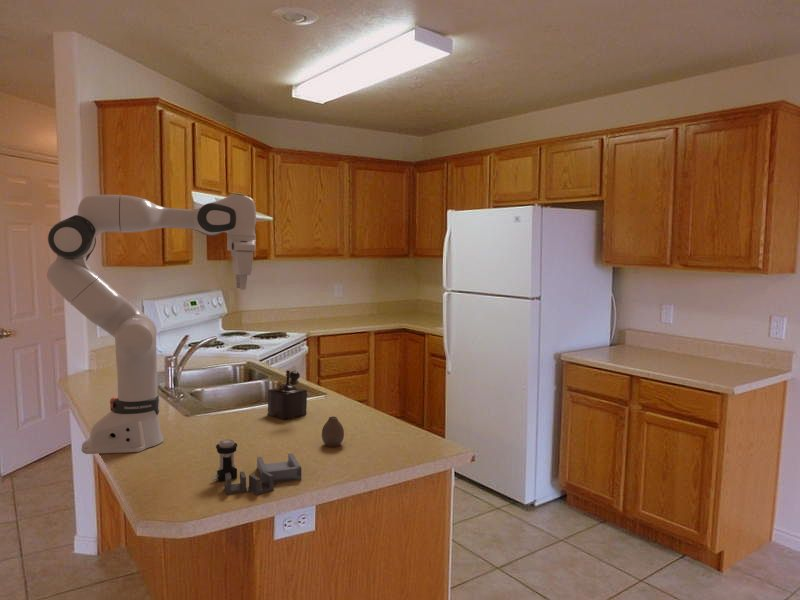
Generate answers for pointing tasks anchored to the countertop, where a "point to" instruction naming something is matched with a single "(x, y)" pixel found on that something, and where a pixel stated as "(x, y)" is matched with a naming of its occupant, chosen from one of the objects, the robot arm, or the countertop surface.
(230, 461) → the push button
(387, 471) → the countertop surface
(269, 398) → the black box with knob
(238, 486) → the clip
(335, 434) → the vase
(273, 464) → the end holder
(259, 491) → the clip
